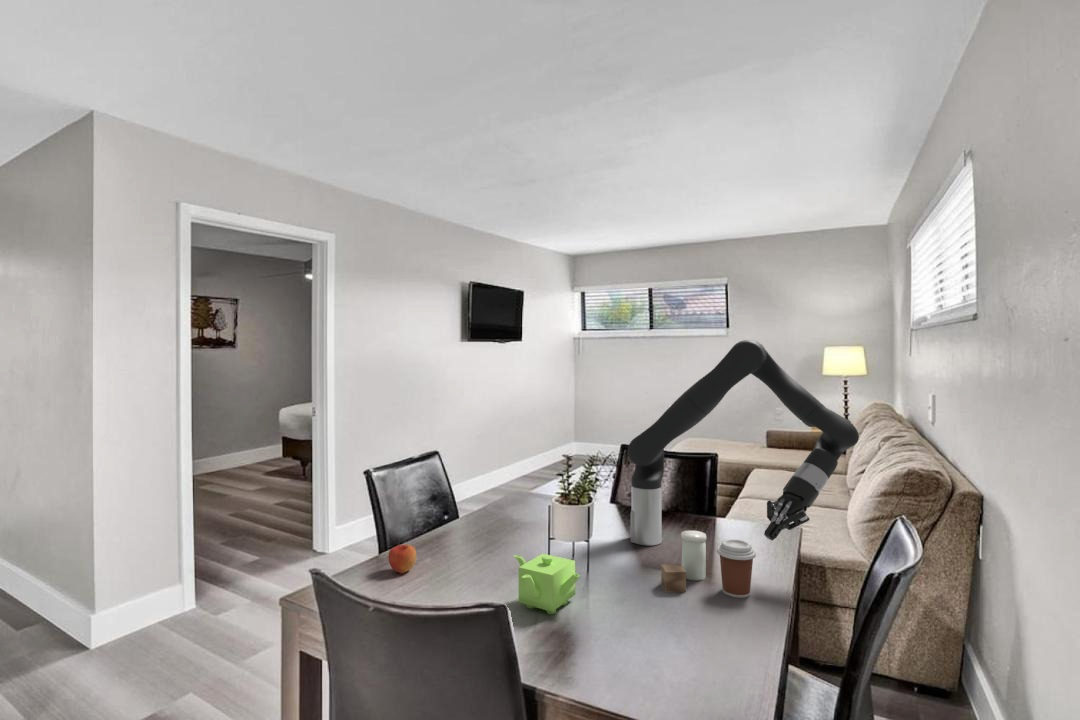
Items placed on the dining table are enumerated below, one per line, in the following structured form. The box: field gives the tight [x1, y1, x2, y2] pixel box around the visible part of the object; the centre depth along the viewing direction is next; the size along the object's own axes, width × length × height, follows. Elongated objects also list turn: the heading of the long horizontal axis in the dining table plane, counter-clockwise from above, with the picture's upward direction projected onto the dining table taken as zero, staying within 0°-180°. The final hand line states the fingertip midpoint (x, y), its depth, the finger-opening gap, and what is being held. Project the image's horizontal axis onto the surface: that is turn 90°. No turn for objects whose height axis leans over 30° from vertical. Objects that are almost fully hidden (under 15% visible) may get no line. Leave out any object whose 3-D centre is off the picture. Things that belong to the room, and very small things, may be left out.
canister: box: [680, 530, 707, 581], centre depth 150 cm, size 6×6×11 cm
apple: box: [388, 543, 417, 575], centre depth 153 cm, size 7×7×8 cm
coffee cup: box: [716, 538, 757, 599], centre depth 139 cm, size 9×9×12 cm
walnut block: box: [660, 563, 687, 593], centre depth 142 cm, size 5×5×5 cm
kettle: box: [513, 553, 581, 615], centre depth 133 cm, size 15×14×11 cm
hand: (768, 537), depth 143 cm, fingers closed
